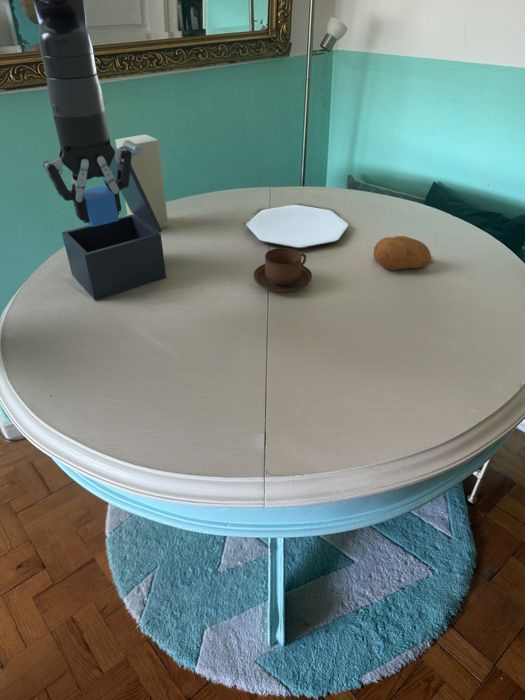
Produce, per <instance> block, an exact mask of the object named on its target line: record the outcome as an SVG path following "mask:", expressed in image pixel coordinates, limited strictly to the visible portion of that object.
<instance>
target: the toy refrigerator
mask: <svg viewBox="0 0 525 700" xmlns="http://www.w3.org/2000/svg"><path fill="white" fill-rule="evenodd" d="M126 140H129V141H131V142H133V143H135V144H137V145H139V146H140V147H142V149H143V153H142V155H140V156H136V155H134V156H132V157H131V165H132V167H133V169H134V172H135V174H136V176H137V178H138V180H139V182H140V184H141V187H142V189H143V191H144V193H145V195H146V197H147V200H148V202H149V204H150V206H151V208H152V210H153V212H154V215H155V217H156V219H157V221H158V223H159V225H160V227H161V229H165V228H168V227H169V221H168V213H167V212H168V211H167V203H166V195H165V187H164V176H163V168H162V167H163V166H162V157H161V149H160V142H159V139H157V138H155V137H153V136H150V135H148V134H139V135H134V136H133V135H132V136H127V137H121V138H116V139H115V146H116V147H115V148H117V149H118V148H120V147H122V146H123V143H124V141H126ZM124 202H125V209H126V216H128V215H132V214H133V213H132V212H131V210H130V208H129V206H128V204H127V202H126V200H125V199H124ZM135 216H136V215H135Z"/></svg>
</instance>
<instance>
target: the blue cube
mask: <svg viewBox="0 0 525 700" xmlns="http://www.w3.org/2000/svg"><path fill="white" fill-rule="evenodd" d="M83 200H84V201H85V204H86V209H87V214H88V218H89V223H88V225H91V226H92V227H95V226H99V225H103V224H107V223H111V222H115V221H119V218H120V217H119V215H118V212H117V207H116V201H115V196H114V193H112V192H111V191H110V190H108V189H107V187H106V186H104V185H102V186H97V187H92V188H88V189H84V196H83Z"/></svg>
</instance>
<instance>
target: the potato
mask: <svg viewBox="0 0 525 700" xmlns="http://www.w3.org/2000/svg"><path fill="white" fill-rule="evenodd" d="M373 256H374V258H375V261H376V263H377V264H379V266H381V267H382V268H383V269H385V270H388V271H395V270H403V269H422V268H425V267H427V266H428V265H429V264H430V263H431V261H432V255H431V251H430V249H429V247H428V246H427V245H426V244H425V243H423V242H422V241H420V240H417V239H414V238H412V237H408V236H405V235H396V236H387V237H384V238H381V239H379V241H377V243H376V244H375V246H374V247H373Z"/></svg>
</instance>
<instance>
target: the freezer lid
mask: <svg viewBox="0 0 525 700" xmlns="http://www.w3.org/2000/svg"><path fill="white" fill-rule="evenodd" d="M113 147H114V146H113ZM122 147H123V148H125V149H127V150H129V151H130V152H131V153H132V156H134V155H136V156H140V155H142V153H143V149H142V147H140V146H139V145H137V144H135V143H133V142H131V141H129V140H126V141H124V143H123V146H122ZM114 148H116V147H114ZM120 148H121V147H120ZM120 148H118V149H120ZM117 166H118V162H117V161H116V159H115V155H114V157H113V159H112V162H111V164H110V166H109V169H110V171H111V173H112V175H113V177H114V180H116V177H117ZM120 192H121V195H122V196H123V198H124V201H125V200H126V202H127V204H128V206H129V208H130V210H131V212H132V213H133V214H134V215H136V216H137V217H138V218H140V219H141V220H142V221H144V222H145V223H146V224H148V225H149V226H150V227H152V228H153V229H154V230H156V231H157V232H159V233H161V232H162V230H163V229H162V228H161V227H160V225H159V223H158V221H157V219H156V217H155V215H154V212H153V210H152V208H151V206H150V204H149V202H148V200H147V197H146V195H145V193H144V191H143V189H142V187H141V184H140V182H139V180H138V178H137V176H136V174H135V172H134V169H133V167H132V165H131V168H130V178H129V186H128V187H127V188H123V189H121V190H120Z"/></svg>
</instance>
